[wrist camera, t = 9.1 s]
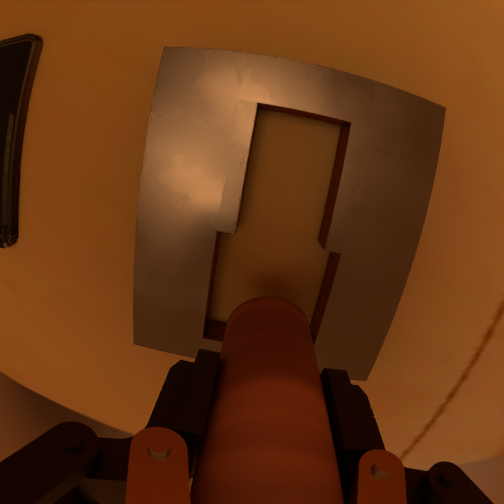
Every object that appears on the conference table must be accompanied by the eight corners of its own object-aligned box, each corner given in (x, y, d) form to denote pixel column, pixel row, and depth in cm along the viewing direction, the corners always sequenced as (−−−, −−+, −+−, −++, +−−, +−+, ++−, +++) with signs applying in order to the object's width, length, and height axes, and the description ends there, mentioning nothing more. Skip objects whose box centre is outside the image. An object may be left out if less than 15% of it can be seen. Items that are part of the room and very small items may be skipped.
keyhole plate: (175, 57, 14) (164, 46, 12) (427, 111, 14) (445, 107, 12) (144, 326, 19) (133, 343, 17) (358, 361, 19) (366, 380, 17)
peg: (232, 289, 12) (171, 551, 3) (319, 304, 12) (386, 553, 3) (220, 359, 13) (175, 580, 4) (298, 370, 13) (318, 588, 4)
